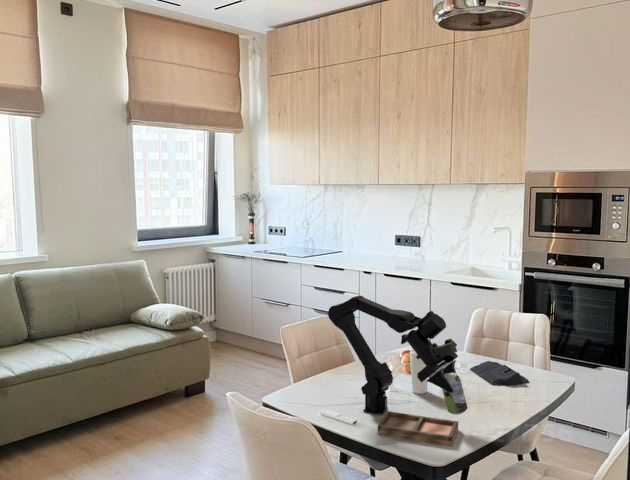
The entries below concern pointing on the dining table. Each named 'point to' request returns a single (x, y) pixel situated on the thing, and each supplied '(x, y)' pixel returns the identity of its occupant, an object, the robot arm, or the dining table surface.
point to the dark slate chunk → (498, 374)
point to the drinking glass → (415, 368)
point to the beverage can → (455, 395)
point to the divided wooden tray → (418, 428)
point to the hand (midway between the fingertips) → (456, 389)
